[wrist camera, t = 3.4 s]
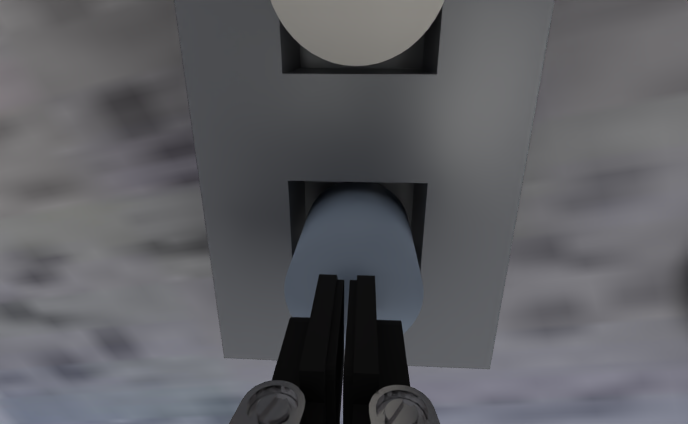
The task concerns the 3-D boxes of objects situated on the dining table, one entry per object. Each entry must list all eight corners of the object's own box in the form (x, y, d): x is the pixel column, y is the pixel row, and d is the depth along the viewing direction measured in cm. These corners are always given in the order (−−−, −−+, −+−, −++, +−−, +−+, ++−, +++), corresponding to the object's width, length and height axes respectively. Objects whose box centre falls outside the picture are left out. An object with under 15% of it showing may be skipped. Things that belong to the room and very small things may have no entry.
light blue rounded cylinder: (304, 179, 17) (280, 229, 12) (412, 181, 16) (429, 233, 12) (308, 271, 18) (287, 347, 14) (405, 274, 18) (418, 352, 14)
